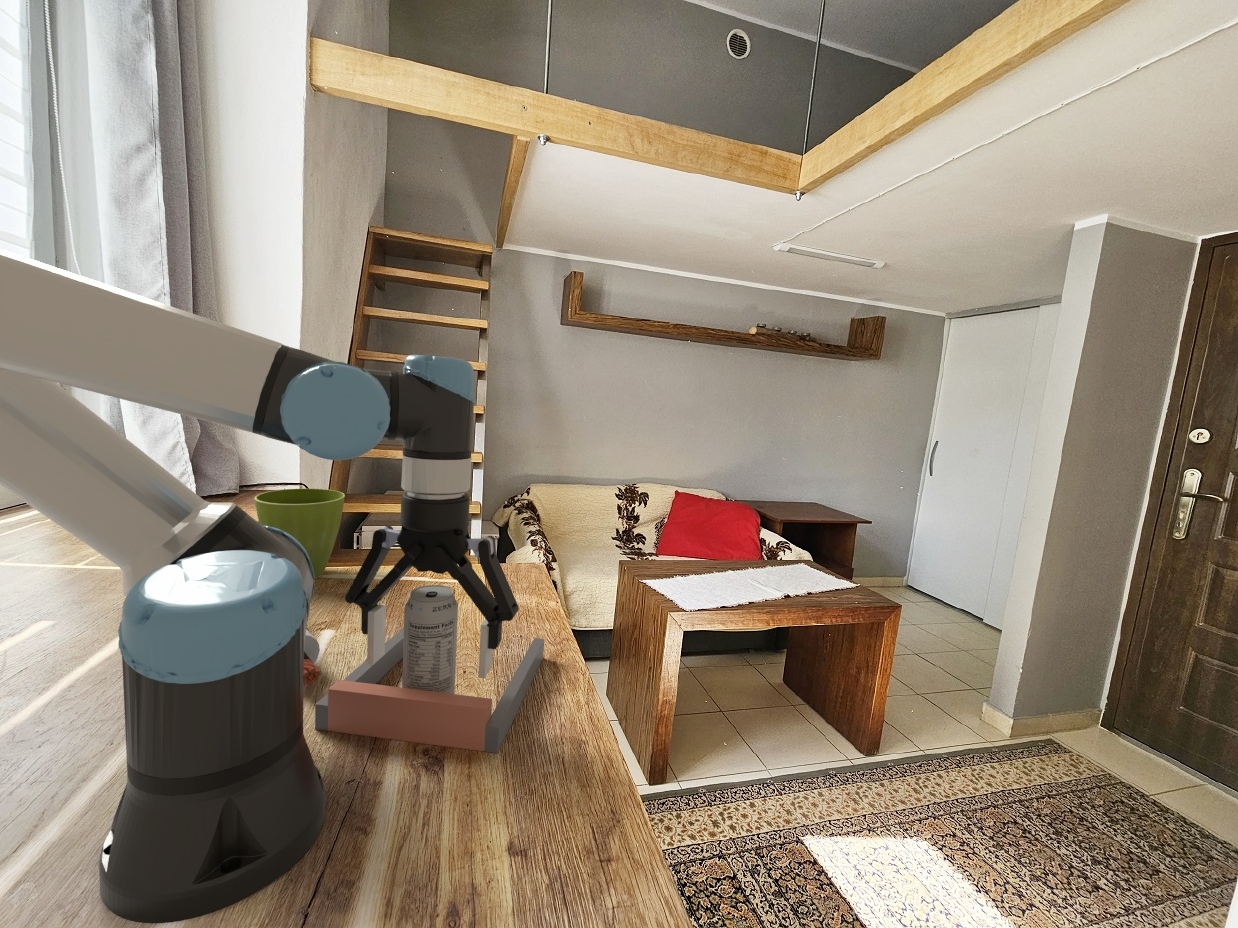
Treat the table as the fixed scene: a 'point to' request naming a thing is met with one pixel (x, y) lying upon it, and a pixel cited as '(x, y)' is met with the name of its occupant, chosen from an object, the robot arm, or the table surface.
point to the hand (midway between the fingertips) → (430, 665)
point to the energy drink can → (430, 639)
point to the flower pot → (305, 519)
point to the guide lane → (422, 706)
